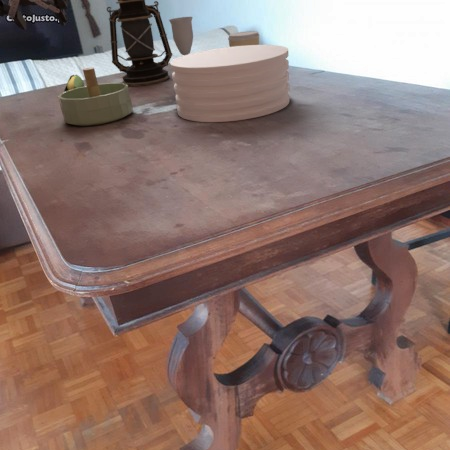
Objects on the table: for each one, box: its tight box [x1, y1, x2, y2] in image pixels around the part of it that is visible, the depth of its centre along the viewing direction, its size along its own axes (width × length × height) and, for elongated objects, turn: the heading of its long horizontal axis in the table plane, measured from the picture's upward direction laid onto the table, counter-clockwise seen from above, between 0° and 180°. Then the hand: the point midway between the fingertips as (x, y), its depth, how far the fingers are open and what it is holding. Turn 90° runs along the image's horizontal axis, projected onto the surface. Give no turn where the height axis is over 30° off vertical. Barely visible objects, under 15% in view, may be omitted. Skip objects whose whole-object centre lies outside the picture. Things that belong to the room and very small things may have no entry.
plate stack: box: [169, 44, 290, 123], centre depth 115 cm, size 28×28×12 cm
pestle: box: [82, 67, 101, 97], centre depth 120 cm, size 6×6×11 cm
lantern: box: [106, 0, 174, 87], centre depth 151 cm, size 20×16×30 cm
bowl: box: [57, 82, 134, 127], centre depth 122 cm, size 18×18×6 cm
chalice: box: [168, 16, 194, 56], centre depth 139 cm, size 7×7×18 cm
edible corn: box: [63, 74, 85, 92], centre depth 152 cm, size 5×20×5 cm, turn 9°
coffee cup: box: [227, 30, 260, 47], centre depth 143 cm, size 9×9×12 cm
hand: (44, 24), depth 100 cm, fingers open, 8 cm apart
